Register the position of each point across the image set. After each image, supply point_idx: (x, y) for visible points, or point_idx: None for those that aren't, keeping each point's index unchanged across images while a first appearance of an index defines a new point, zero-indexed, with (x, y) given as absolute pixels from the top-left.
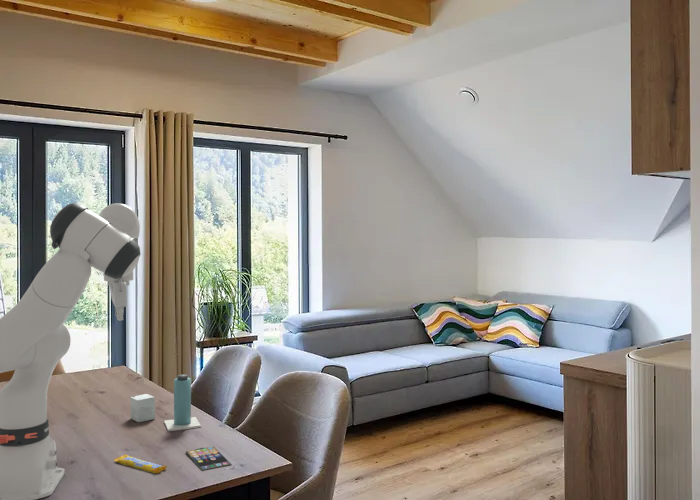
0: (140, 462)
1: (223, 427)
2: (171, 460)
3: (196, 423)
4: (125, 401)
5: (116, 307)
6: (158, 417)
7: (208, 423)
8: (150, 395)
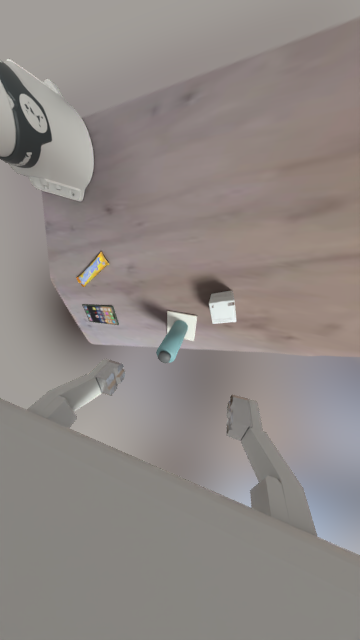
0: (86, 270)
1: None
2: (101, 293)
3: None
4: (334, 302)
5: (46, 406)
6: None
7: None
8: (224, 322)
